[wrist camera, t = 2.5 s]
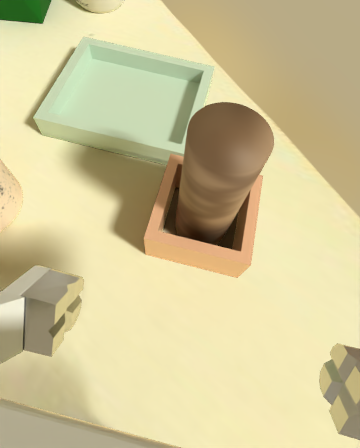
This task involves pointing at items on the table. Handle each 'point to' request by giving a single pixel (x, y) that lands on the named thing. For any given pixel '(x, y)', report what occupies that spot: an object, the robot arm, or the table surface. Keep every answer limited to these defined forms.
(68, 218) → the table surface
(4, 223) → the teacup with lid
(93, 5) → the supplement can
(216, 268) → the terracotta holder
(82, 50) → the sage tray
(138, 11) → the table surface
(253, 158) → the walnut canister
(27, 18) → the milk carton
